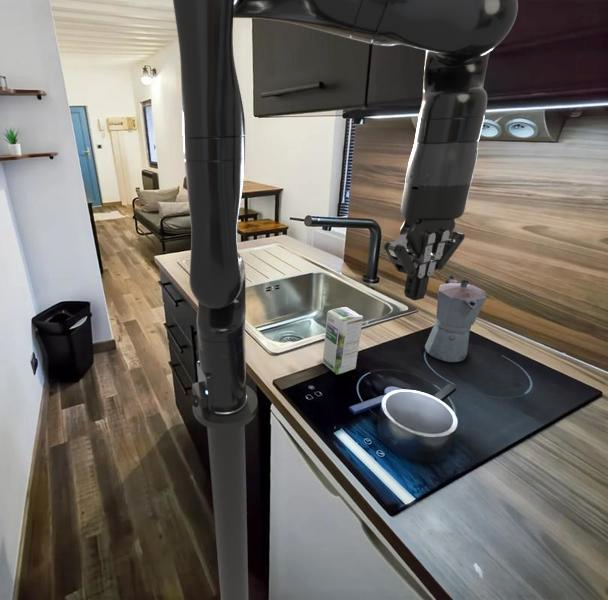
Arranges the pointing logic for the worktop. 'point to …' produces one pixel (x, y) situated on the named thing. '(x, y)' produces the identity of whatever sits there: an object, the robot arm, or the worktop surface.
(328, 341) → the syrup box
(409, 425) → the saucepan
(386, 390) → the spoon
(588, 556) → the worktop surface
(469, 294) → the moka pot
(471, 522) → the worktop surface
